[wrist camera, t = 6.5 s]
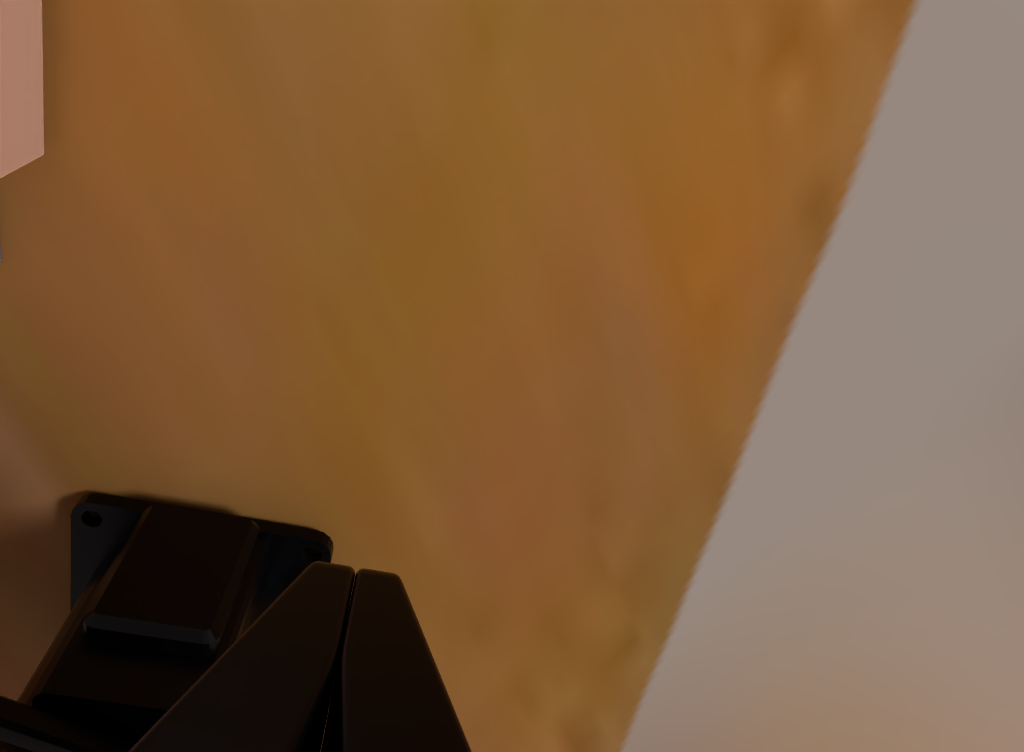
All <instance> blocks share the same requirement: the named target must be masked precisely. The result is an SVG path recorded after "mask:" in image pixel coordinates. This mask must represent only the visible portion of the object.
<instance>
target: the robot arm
mask: <svg viewBox="0 0 1024 752" xmlns="http://www.w3.org/2000/svg"><path fill="white" fill-rule="evenodd" d="M89 511H94V512H96V513H98V514H99V515H100V516H101V517H95V516H93V515H92V514H90V513H89ZM312 547H313V548H316V549H318V550H319V551H320V552H319V553H312V552H309V551H308V550H307V549H306V548H312ZM332 554H333V542H332V540H331V539H330V537H329V536H328V535H326V534H325V533H323V532H320V531H317V530H311V529H305V528H299V527H293V526H287V525H282V524H276V523H270V522H264V521H258V520H252V519H246V518H240V517H234V516H228V515H222V514H216V513H210V512H204V511H198V510H193V509H187V508H181V507H175V506H169V505H163V504H157V503H151V502H145V501H139V500H133V499H127V498H121V497H115V496H109V495H103V494H88V495H85V496H83V497H82V498H81V499H80V500H79V501H78V503H77V504H76V506H75V507H74V508H73V510H72V514H71V612H70V614H69V616H68V617H67V619H66V621H65V622H64V624H63V626H62V627H61V629H60V631H59V632H58V634H57V636H56V637H55V639H54V641H53V642H52V644H51V646H50V647H49V649H48V651H47V652H46V654H45V656H44V657H43V659H42V661H41V662H40V664H39V666H38V667H37V669H36V671H35V672H34V674H33V676H32V677H31V679H30V681H29V683H28V684H27V686H26V688H25V689H24V691H23V693H22V694H21V696H20V698H19V699H18V701H14V700H12V699H9V698H6V697H3V696H0V752H320V751H321V752H471V749H470V747H469V744H468V742H467V739H466V737H465V734H464V732H463V730H462V727H461V725H460V722H459V720H458V717H457V715H456V712H455V710H454V708H453V705H452V703H451V700H450V698H449V695H448V693H447V690H446V688H445V685H444V683H443V681H442V678H441V676H440V673H439V671H438V668H437V666H436V663H435V661H434V659H433V656H432V654H431V651H430V649H429V646H428V644H427V641H426V639H425V636H424V634H423V632H422V629H421V627H420V624H419V622H418V619H417V617H416V614H415V612H414V610H413V607H412V605H411V602H410V600H409V597H408V595H407V592H406V590H405V587H404V585H403V583H402V581H401V579H400V577H399V576H398V575H396V574H394V573H389V572H382V571H376V570H370V569H360V570H359V571H358V572H357V573H356V575H355V571H354V569H353V568H352V567H350V566H346V565H339V564H333V563H331V559H332ZM354 578H355V580H354ZM353 583H354V585H353ZM352 588H353V590H352ZM351 593H352V595H351ZM350 598H351V600H350ZM349 603H350V605H349ZM348 609H349V610H348ZM347 614H348V615H347ZM346 619H347V620H346ZM345 624H346V625H345ZM333 685H334V686H333ZM332 690H333V691H332ZM331 695H332V696H331ZM330 700H331V701H330ZM329 705H330V706H329ZM328 710H329V711H328ZM327 715H328V717H327ZM326 720H327V722H326ZM325 725H326V727H325ZM324 730H325V732H324ZM323 735H324V737H323ZM322 740H323V743H322ZM321 745H322V748H321Z"/></svg>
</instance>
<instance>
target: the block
mask: <svg viewBox="0 0 1024 752" xmlns="http://www.w3.org/2000/svg"><path fill="white" fill-rule="evenodd" d="M42 155H44V120H43V46H42V0H0V178H2V177H4V176H6V175H8V174H9V173H11V172H13V171H15V170H17V169H19V168H20V167H22V166H24V165H26V164H28V163H30V162H31V161H33V160H35V159H37V158H39V157H41V156H42Z"/></svg>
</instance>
